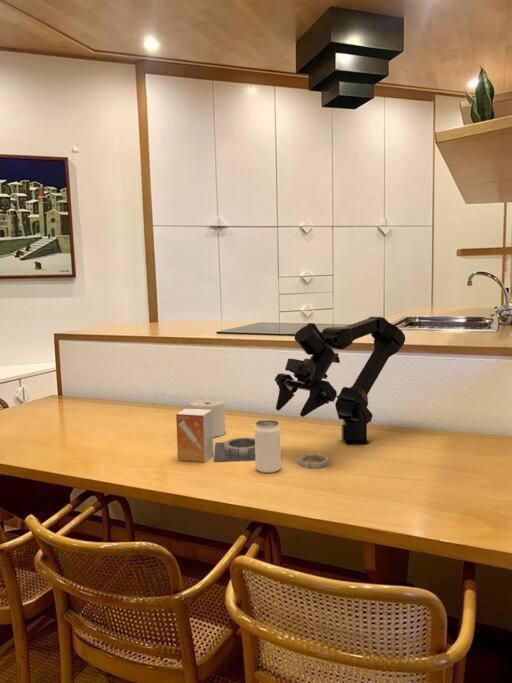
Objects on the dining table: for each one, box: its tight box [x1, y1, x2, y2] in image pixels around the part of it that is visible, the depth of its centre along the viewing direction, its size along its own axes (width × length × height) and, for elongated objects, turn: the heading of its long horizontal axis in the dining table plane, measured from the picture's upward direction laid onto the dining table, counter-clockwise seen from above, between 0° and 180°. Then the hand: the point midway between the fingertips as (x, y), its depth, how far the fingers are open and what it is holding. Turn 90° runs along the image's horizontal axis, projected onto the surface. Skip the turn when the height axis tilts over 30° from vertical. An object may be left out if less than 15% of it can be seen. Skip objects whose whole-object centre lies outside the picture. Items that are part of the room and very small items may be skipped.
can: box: [254, 419, 282, 474], centre depth 133 cm, size 6×6×12 cm
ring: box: [297, 453, 330, 469], centre depth 137 cm, size 8×8×1 cm
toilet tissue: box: [180, 398, 226, 438], centre depth 166 cm, size 11×12×10 cm
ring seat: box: [213, 436, 255, 463], centre depth 148 cm, size 18×16×2 cm
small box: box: [175, 409, 214, 463], centre depth 143 cm, size 8×6×13 cm
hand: (288, 412), depth 137 cm, fingers open, 9 cm apart
